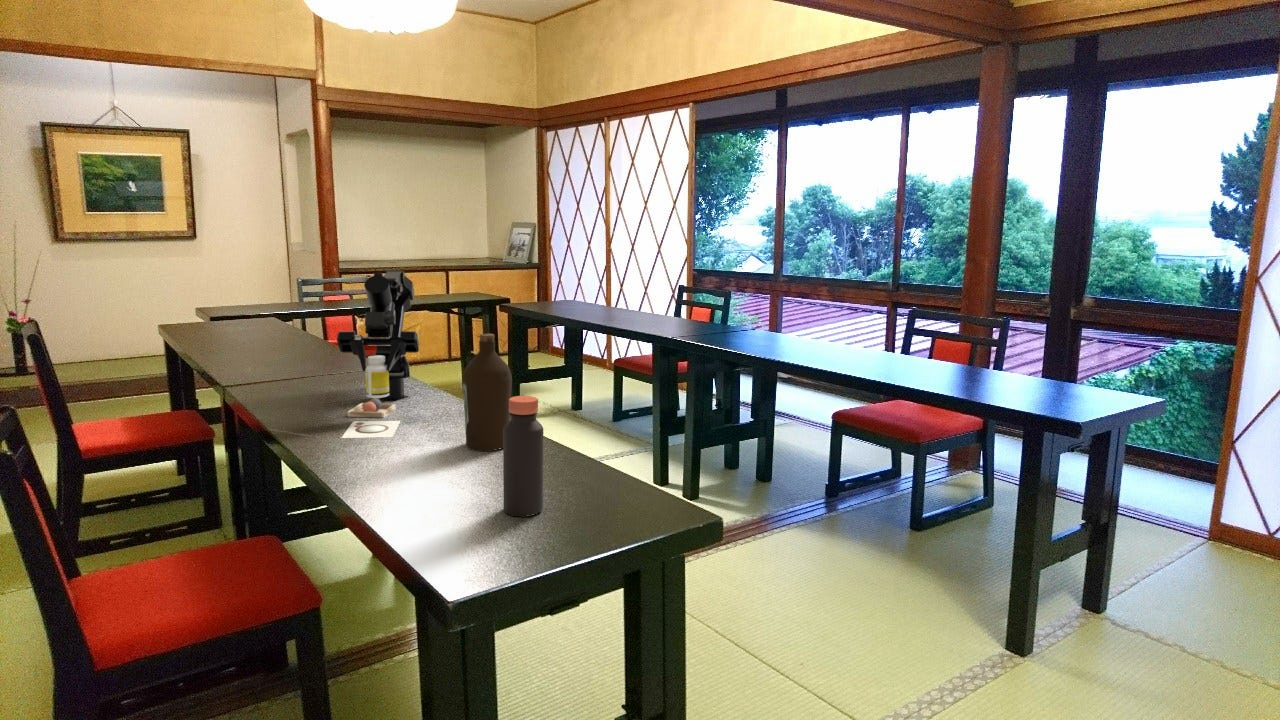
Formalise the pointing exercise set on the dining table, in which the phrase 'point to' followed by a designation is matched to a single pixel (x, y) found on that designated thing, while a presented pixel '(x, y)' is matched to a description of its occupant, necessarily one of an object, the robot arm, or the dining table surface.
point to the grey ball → (376, 403)
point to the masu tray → (379, 413)
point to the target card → (371, 429)
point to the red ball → (369, 407)
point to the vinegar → (523, 458)
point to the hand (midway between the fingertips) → (375, 370)
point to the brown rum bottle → (486, 397)
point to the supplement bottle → (377, 377)
